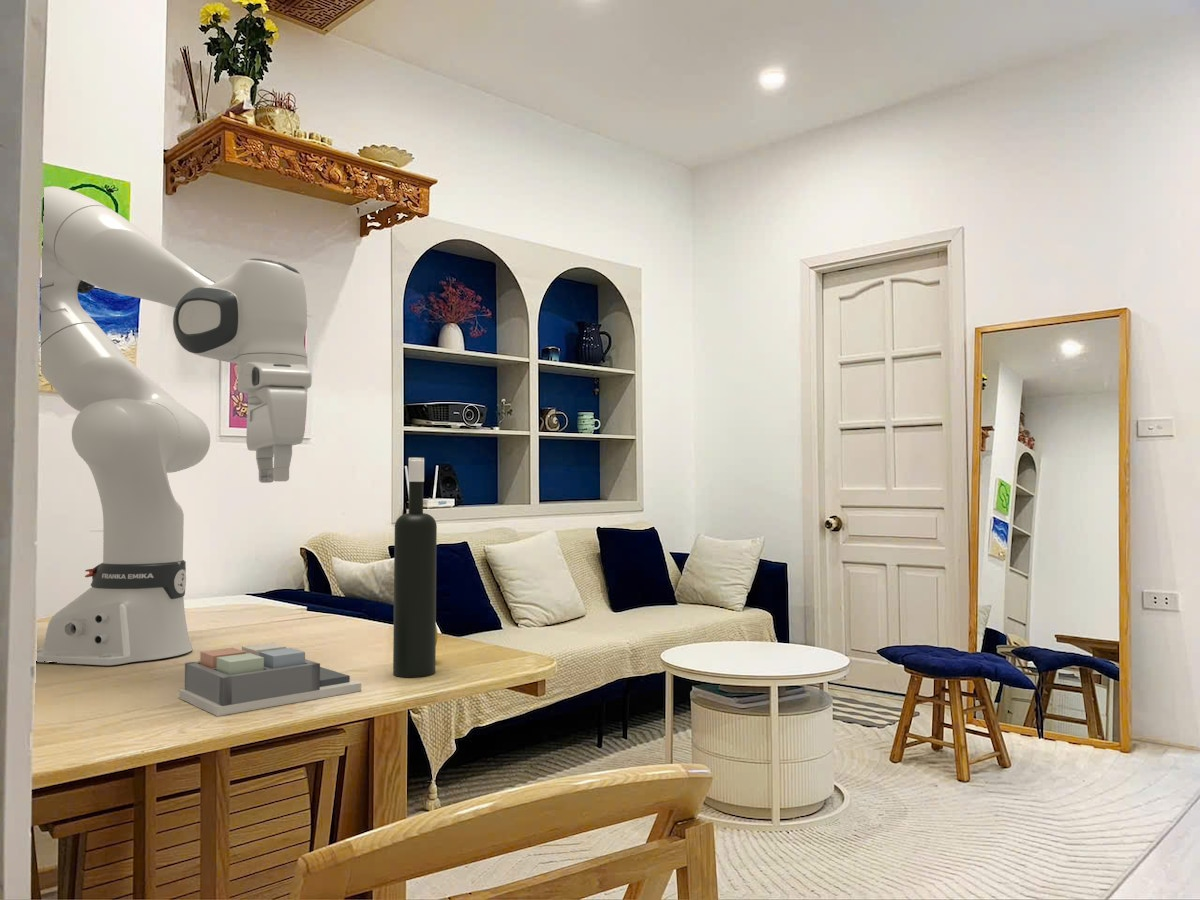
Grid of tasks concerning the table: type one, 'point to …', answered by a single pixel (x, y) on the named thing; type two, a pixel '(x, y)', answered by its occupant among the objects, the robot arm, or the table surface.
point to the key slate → (283, 658)
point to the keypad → (261, 687)
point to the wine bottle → (415, 584)
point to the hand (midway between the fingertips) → (273, 482)
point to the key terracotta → (211, 656)
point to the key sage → (240, 664)
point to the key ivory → (261, 648)
